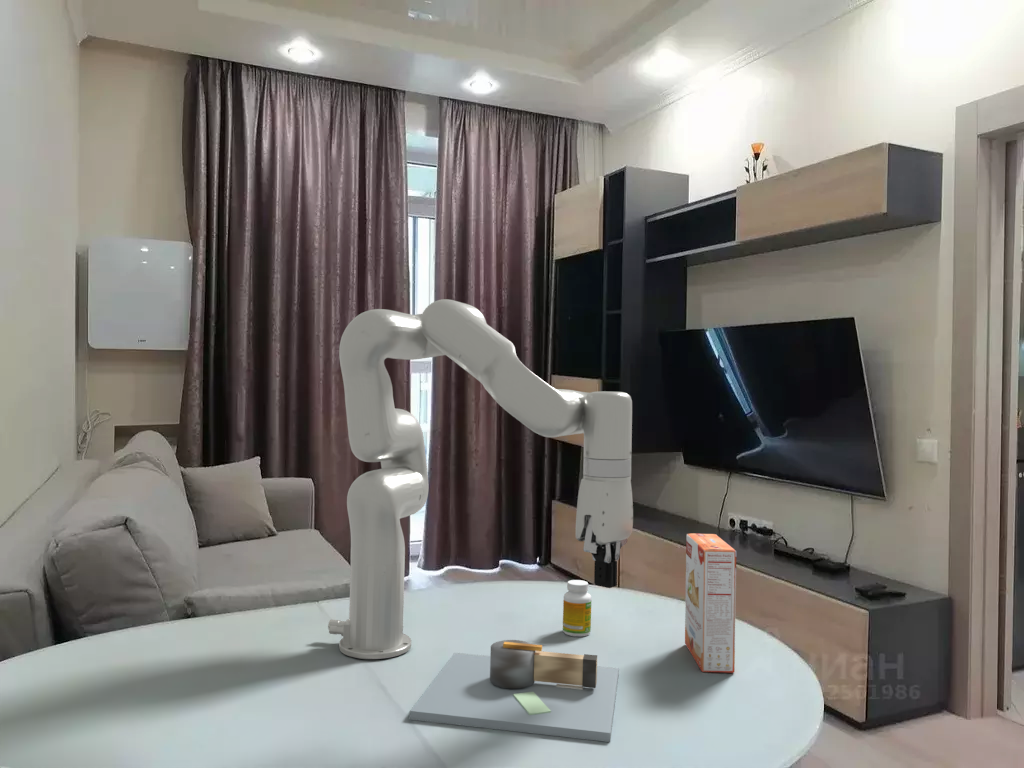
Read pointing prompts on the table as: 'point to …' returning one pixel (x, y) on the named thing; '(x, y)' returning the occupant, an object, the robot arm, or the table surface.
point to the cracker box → (710, 602)
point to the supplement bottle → (577, 609)
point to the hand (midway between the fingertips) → (605, 585)
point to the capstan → (538, 666)
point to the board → (518, 702)
